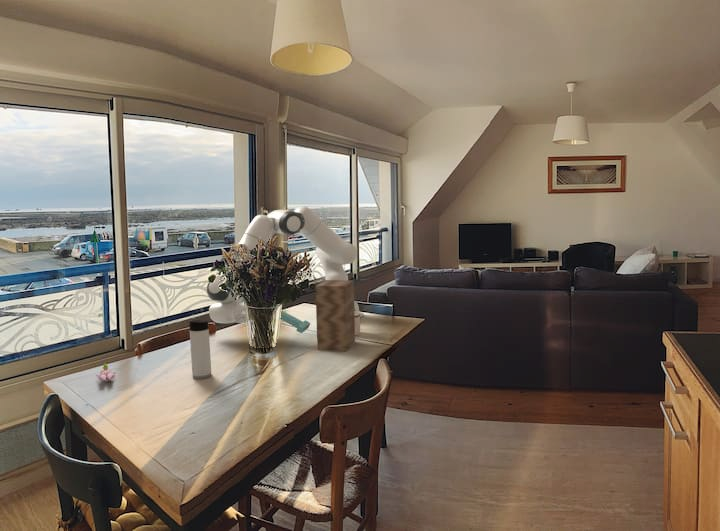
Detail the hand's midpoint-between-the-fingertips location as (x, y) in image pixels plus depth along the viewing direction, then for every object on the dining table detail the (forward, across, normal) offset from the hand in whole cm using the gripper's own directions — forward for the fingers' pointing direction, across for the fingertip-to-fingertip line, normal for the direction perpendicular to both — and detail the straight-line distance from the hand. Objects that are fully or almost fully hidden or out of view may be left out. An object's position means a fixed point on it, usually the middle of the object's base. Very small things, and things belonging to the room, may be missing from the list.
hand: (275, 310), depth 214 cm
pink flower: (-40, -54, +11) cm, 68 cm away
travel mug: (-10, -43, +13) cm, 46 cm away
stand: (+25, +1, +16) cm, 29 cm away
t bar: (+4, 0, +4) cm, 6 cm away
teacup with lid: (+24, +20, +16) cm, 35 cm away
